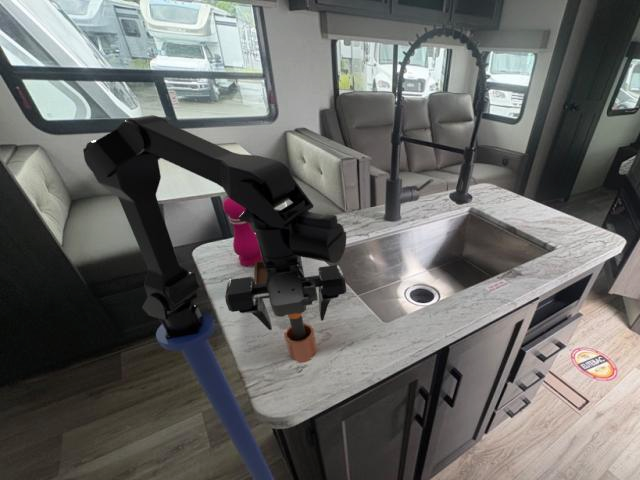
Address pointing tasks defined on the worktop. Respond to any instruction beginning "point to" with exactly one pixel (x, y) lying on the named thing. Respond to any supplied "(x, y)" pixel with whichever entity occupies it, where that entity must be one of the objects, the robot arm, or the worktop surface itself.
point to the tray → (260, 274)
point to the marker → (297, 326)
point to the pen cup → (301, 345)
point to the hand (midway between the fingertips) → (296, 323)
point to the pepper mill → (242, 235)
